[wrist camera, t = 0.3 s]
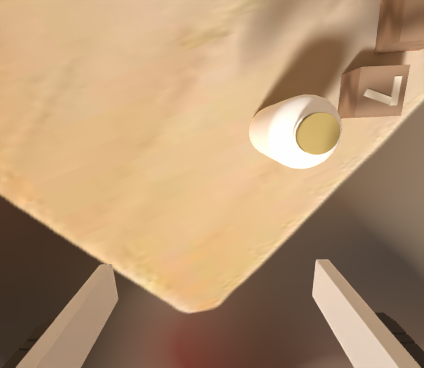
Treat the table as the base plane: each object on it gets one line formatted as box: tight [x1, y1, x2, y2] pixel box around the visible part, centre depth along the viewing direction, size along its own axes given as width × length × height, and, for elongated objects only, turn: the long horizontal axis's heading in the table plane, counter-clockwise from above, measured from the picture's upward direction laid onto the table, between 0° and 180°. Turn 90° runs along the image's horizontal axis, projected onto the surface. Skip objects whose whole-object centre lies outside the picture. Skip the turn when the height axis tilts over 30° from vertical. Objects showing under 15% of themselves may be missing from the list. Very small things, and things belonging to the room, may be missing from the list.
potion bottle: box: [249, 94, 342, 168], centre depth 30 cm, size 8×8×18 cm
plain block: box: [375, 0, 424, 53], centre depth 32 cm, size 7×7×5 cm
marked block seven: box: [338, 65, 410, 118], centre depth 34 cm, size 7×7×5 cm
